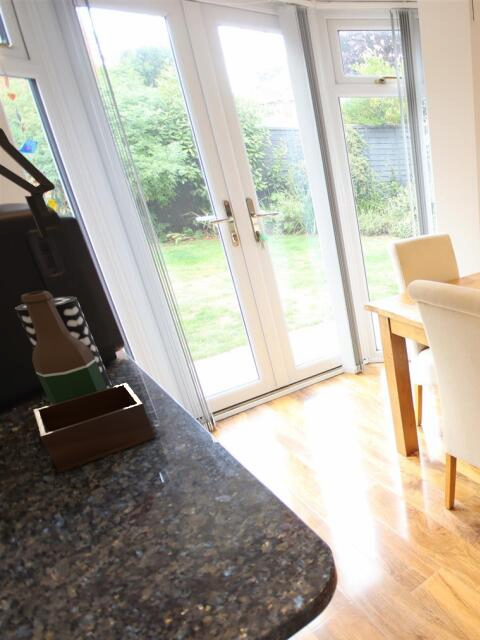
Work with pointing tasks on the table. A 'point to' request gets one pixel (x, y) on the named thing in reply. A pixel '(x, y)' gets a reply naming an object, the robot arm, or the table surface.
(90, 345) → the spotted tube
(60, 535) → the table surface
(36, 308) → the beer bottle
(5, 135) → the robot arm
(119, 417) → the brown wooden open box
